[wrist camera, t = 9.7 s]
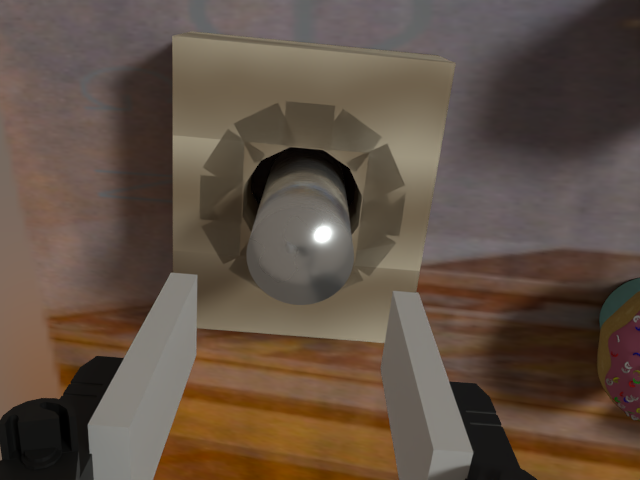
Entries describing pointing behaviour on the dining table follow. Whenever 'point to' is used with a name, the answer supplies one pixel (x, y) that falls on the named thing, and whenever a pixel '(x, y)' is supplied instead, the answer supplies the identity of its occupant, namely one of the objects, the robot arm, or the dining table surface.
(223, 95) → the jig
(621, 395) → the cupcake
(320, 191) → the grey metal rod
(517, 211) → the dining table surface
